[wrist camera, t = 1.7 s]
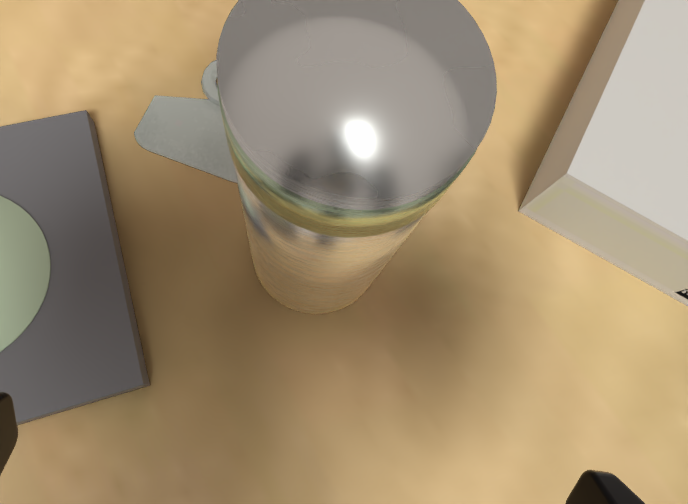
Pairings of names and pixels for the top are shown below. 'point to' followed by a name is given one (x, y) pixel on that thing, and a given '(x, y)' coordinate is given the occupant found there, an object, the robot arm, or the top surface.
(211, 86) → the mounting bracket
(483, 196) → the top surface
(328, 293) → the canister
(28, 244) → the pad
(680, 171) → the disc drive
